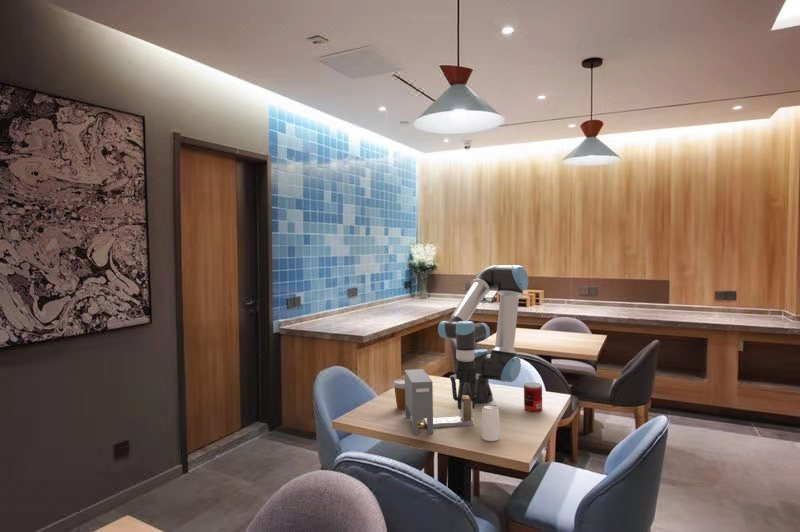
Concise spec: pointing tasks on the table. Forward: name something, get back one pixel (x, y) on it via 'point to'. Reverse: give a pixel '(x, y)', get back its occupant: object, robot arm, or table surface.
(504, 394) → the table surface
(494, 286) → the robot arm
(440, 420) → the steel scraper
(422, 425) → the brass token
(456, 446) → the table surface
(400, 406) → the disposable coffee cup
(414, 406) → the gray cabinet
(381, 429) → the table surface
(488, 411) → the can
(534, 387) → the canned food
